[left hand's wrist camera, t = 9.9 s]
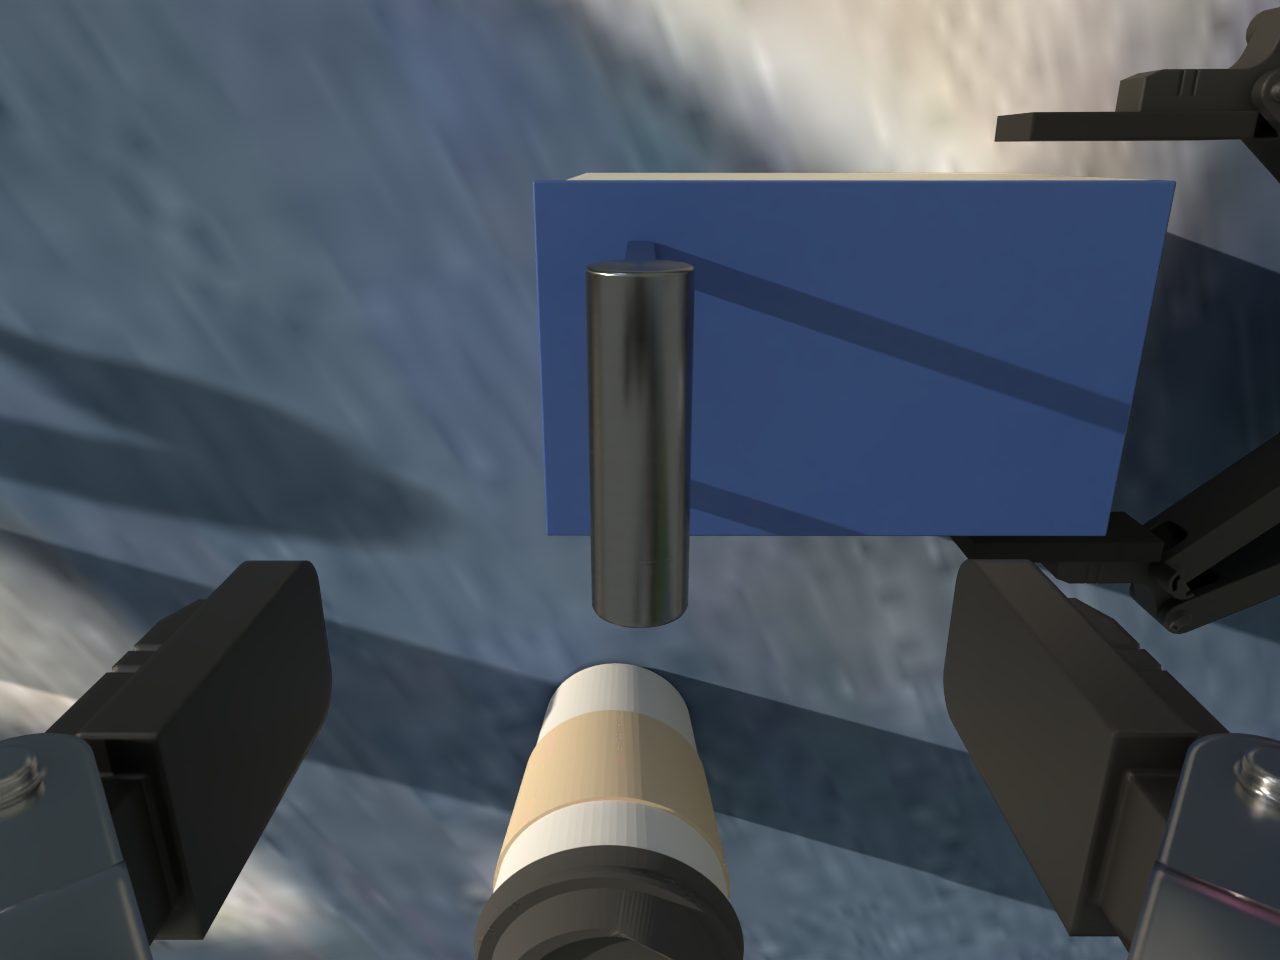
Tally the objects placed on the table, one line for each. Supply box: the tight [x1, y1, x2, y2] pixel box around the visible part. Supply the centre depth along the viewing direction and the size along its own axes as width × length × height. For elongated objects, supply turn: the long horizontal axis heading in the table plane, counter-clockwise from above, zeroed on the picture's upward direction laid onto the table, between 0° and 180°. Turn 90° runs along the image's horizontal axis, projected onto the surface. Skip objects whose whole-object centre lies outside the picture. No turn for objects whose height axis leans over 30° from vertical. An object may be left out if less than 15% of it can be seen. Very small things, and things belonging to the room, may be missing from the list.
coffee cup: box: [474, 663, 744, 960], centre depth 34 cm, size 9×9×15 cm
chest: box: [568, 173, 1142, 180], centre depth 30 cm, size 16×10×10 cm, turn 90°
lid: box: [533, 180, 1176, 628], centre depth 21 cm, size 17×10×9 cm, turn 90°
